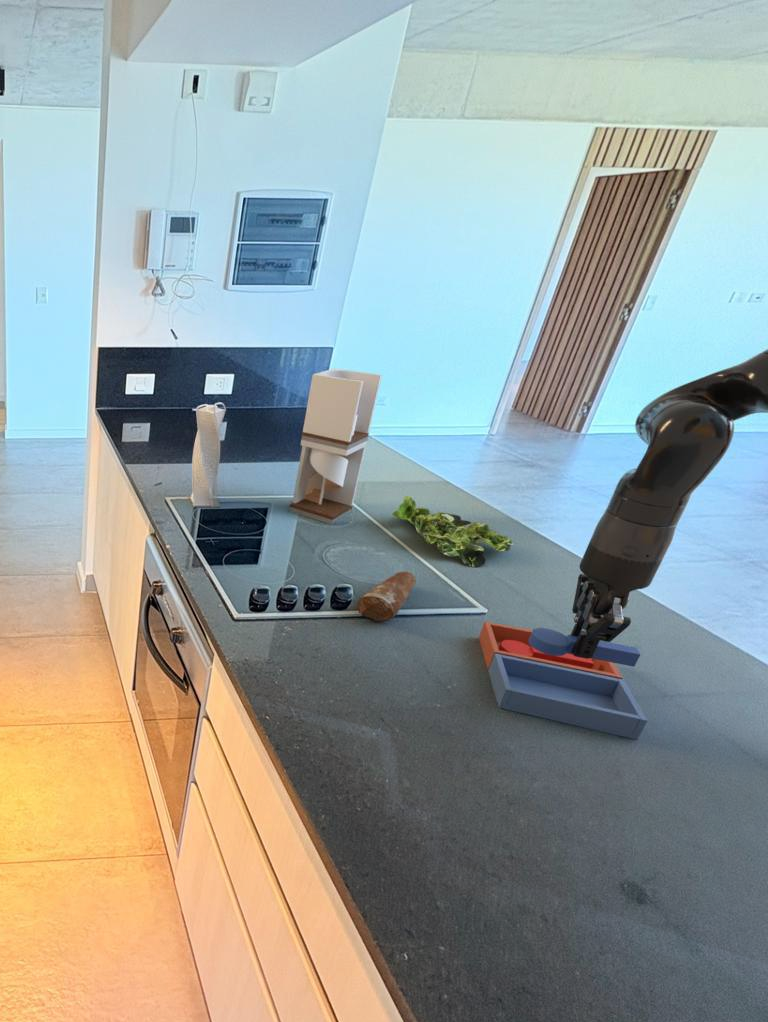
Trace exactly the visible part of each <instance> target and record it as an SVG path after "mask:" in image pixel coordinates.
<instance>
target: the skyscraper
mask: <svg viewBox="0 0 768 1022" xmlns="http://www.w3.org/2000/svg"><path fill="white" fill-rule="evenodd" d="M218 405H222V407H223V408H219V407H218ZM226 412H227V407H226V405H225V404H224V403H223V402H220V401H217V402H215V403H214V404H208V403H204V404H200V405H197V407H196V408H195V414H196V424H197V425H196V427H197V432H196V435H195V440H194V444H193V450H192V461H191V486H192V487H191V488H192V490H191V491H192V492H191V495H188V498H189V500H190V503H191V505H192V507H193V508H221V504H220V503H219V501H218V499H217V497H216V492H217V486H218V485H217V478H218V472H219V465H220V460H221V438H220V437H221V436H220V428H221V426H222V423H223V420H224V417H225V414H226Z"/></svg>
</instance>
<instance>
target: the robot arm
mask: <svg viewBox="0 0 768 1022" xmlns="http://www.w3.org/2000/svg"><path fill="white" fill-rule="evenodd" d="M754 414H768V348H767V349H765V350H763V351H762V352H759V353H758V354H756V355H754V356H752V357H750V358H748V359H747V360H745V361H744V362H741V363H738V364H736V365H734V366H731V367H728V368H725V369H721V370H719V371H715V372H713V373H710V374H707V375H705V376H703V377H700V378H696V379H695V380H692V381H689V382H686V383H685V384H682V385H679V386H677V387H674V388H673V389H672V388H671V389H670V390H668V391H666V392H664V393H662V394H661V395H659V396H658V397H656V398H654V399H653V400H651V401H650V402H649V403H647V404H646V405H645V406H644V407H643V408H642V409H641V411H640V412H639V413H638V414H637V417H636V419H635V424H634V427H635V432H636V435H637V436H638V438H640V440H641V441H642V442H644V443H645V444H646V445H648V446H647V448H646V450H645V452H644V454H643V456H642V459H641V460H640V462H639V464H638V465H637V467H636V468H632V469H629V470H628V471H625V473H623V475H622V476H621V477H620V478H619V480H618V482H617V484H616V486H615V488H614V491H613V493H612V496H611V498H610V500H609V502H608V504H607V507H606V508H605V511H604V513H603V514H602V515H601V517H600V519H599V520H598V522H597V524H596V526H595V529H594V531H593V532H592V535H591V538H590V540H589V542H588V544H587V547H586V549H585V551H584V554H583V556H582V558H581V561H580V563H579V570H580V571H581V573H580V574H579V575H578V576H577V583H576V588H575V594H574V599H573V605H572V609H571V610H572V611H571V612H572V614H574V615H575V616H574V618H573V622H574V626H573V628H572V631H571V632H570V635H572V636H577V637H578V638H577V640H576V643H575V645H574V647H573V650H572V653H573V655H574V656H576V657H581V658H586V659H590V658H591V657H592V656H593V654H594V652H595V650H596V647H597V645H598V643H599V641H604V642H609V643H612V641H613V640H614V639H615V638H616V637H618V636H619V635H620V634H621V633H623V632H624V631H625V630H626V629H627V628H628V627H630V625H631V623H632V619H631V617H628V616H623V610H625V608H627V606H628V603H629V601H630V597H629V596H630V593H631V592H633V591H636V590H644V589H646V588H648V587H649V586H650V585H651V584H652V582H653V580H654V579H655V576H656V574H657V572H658V570H659V568H660V566H661V564H662V563H663V560H664V558H665V555H666V554H667V552H668V550H669V548H670V546H671V544H672V542H673V539H674V537H675V536H674V535H675V532H676V529H677V526H678V524H679V522H680V519H681V518H682V516H683V514H684V512H685V510H686V507H687V505H688V504H689V501H690V499H691V496H692V494H693V492H695V490H696V489H698V487H699V486H700V485H701V484H702V483H703V482H704V481H705V480H706V479H707V478H708V476H709V475H710V474H711V473H712V471H713V470H714V469H715V468H716V466H717V465H718V464H719V463H720V461H721V460H722V459H723V457H724V456H725V455H726V453H727V451H728V450H729V448H730V445H731V443H732V441H733V437H734V433H735V424H734V423H735V421H737V420H740V419H742V418H745V417H748V416H751V415H754Z"/></svg>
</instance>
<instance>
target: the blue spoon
mask: <svg viewBox="0 0 768 1022" xmlns="http://www.w3.org/2000/svg"><path fill="white" fill-rule="evenodd" d="M532 630H533V631H532V633H531V636H530V638H529V641H528V642H529V644H530V645H531V646H532V647H533V648H534V649H536V650H538V651H540V652H542V653H545V654H548V655H553V656H563V655H565V654H566V653H567V654H572V655H573V653H572V650H573V647H574V645H575V643H576V640H577V638H578V637H577V636H572V635H571V634H567V635H566V634H563V633H561V632H559V631H557V630H554V629H552V628H551V629H550V628H545V627H537V628H534V629H532ZM641 655H642V654H641V653H640V651H639V650H638V648H637V647H635V646H629V645H624V644H618V643H614V642H605V641H599V643H598V645H597V647H596V650H595V652H594V654H593V656H592V657H591V658H592V659H597V660H602V661H607V662H613V663H614V664H619V665H623V666H629V667H633V668H634V667H635V666H636V664H637V663H638V661H639V659H640V657H641Z"/></svg>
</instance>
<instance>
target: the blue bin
mask: <svg viewBox="0 0 768 1022" xmlns="http://www.w3.org/2000/svg"><path fill="white" fill-rule="evenodd" d="M487 672H488V675H489V679H490V682H491V686H492V689H493V693H494V696H495V700H496V704H497V703H498V704H497V707H498V708H499V709H502V708H503V709H504V710H507V711H511V712H516V713H520V714H525V715H529V716H533V717H537V718H542V719H546V720H550V721H554V722H559V723H564V724H568V725H572V726H577V727H581V728H585V729H589V730H593V731H594V730H595V731H598V732H601V733H605V734H606V733H607V734H610V735H614V736H619V737H622V738H623V737H624V738H628V739H632V740H638V739H639V738H640V736H641V734H642V732H643V730H644V728H645V726H646V725H647V723H648V721H649V720H648V719H647V717H646V715H645V713H644V712H643V710H642V708H641V706H640V705H639V703H638V701H637V699H636V698H635V696H634V694H633V693H632V692H631V689H630V688H629V686H628V684H627V683H626V681H625V679H624V678H623V679H617V678H613V677H608V676H603V675H598V674H593V673H588V672H583V671H578V670H574V669H569V668H564V667H559V666H554V665H549V664H544V663H539V662H534V661H530V660H525V659H520V658H515V657H510V656H505V655H500V654H496V653H495V654H494V657H493V659H492V662H491V664H490V667H489V669H487Z"/></svg>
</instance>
